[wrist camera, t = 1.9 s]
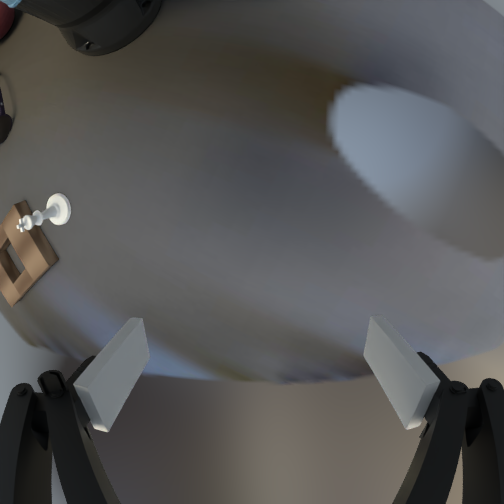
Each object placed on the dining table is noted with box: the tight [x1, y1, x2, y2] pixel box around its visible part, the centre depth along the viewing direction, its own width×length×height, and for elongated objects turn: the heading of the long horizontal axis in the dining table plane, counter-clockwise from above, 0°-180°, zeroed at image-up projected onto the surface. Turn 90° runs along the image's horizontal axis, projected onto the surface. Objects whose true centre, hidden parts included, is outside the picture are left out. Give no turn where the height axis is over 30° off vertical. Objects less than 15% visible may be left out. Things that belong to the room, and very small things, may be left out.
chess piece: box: [17, 193, 71, 232], centre depth 29 cm, size 5×5×10 cm
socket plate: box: [0, 201, 59, 307], centre depth 35 cm, size 12×18×3 cm, turn 120°
